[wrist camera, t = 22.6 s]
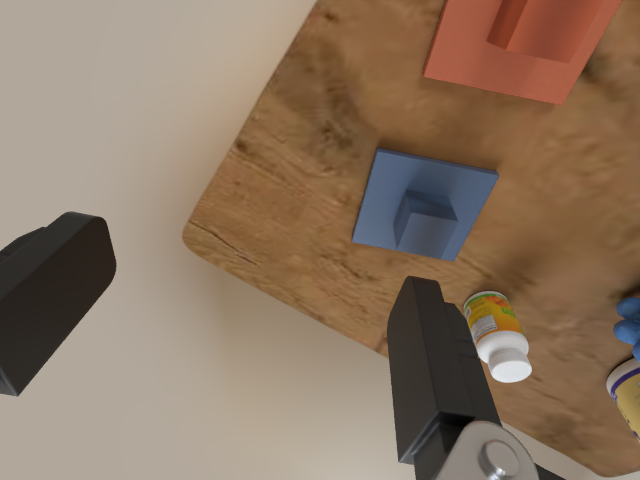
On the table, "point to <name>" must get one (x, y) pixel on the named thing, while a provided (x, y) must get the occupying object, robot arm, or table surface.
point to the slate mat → (422, 176)
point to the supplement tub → (627, 392)
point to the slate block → (424, 224)
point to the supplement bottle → (498, 336)
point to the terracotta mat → (503, 54)
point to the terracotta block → (543, 27)
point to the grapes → (629, 324)
